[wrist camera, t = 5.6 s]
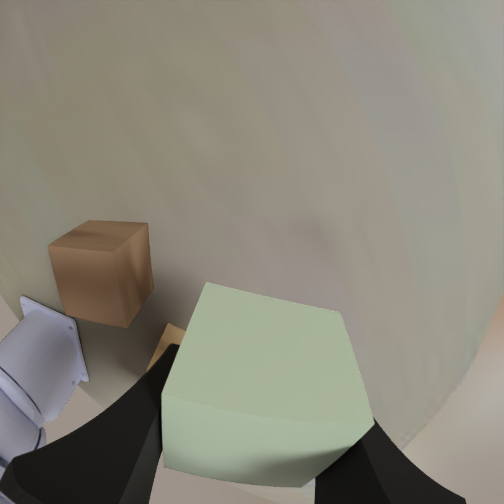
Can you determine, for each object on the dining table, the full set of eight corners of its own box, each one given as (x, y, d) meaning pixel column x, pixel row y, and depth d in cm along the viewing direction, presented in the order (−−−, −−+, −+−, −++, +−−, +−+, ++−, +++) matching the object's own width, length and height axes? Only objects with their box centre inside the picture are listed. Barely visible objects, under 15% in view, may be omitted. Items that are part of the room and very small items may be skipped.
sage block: (296, 393, 12) (301, 487, 7) (191, 373, 12) (163, 466, 7) (339, 311, 10) (374, 424, 5) (206, 281, 10) (161, 394, 5)
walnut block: (154, 287, 20) (127, 328, 15) (98, 280, 20) (65, 314, 15) (148, 222, 18) (113, 252, 13) (89, 220, 18) (47, 245, 13)
